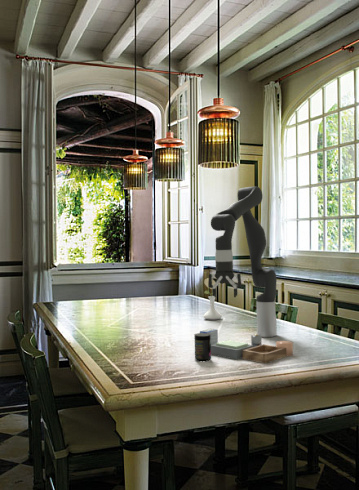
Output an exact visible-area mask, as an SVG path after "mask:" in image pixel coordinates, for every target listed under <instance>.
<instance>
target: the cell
mask: <svg viewBox="0 0 359 490" xmlns="http://www.w3.org/2000/svg"><path fill="white" fill-rule="evenodd" d="M250 339H251V342H250V343H251V344H250V345H253V347H256V346H259V345H263V343H262V337H261V335H258V334H257V333H255V334H252V335H250Z"/></svg>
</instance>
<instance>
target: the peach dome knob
mask: <svg viewBox="0 0 359 490" xmlns="http://www.w3.org/2000/svg"><path fill="white" fill-rule="evenodd" d="M275 346H276V347H280V348H286V357H292V356H293V355H294V342H293V341H290V340H278V341H275Z"/></svg>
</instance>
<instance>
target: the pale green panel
mask: <svg viewBox="0 0 359 490" xmlns="http://www.w3.org/2000/svg"><path fill="white" fill-rule="evenodd" d="M248 345H249V344H248V343H247V342H241V341H235V340H229V339H228V340H223V341H218V343H216V346H221V347H227V348H233V349H239V348H242V347H246V346H248Z"/></svg>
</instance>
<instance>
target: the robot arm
mask: <svg viewBox="0 0 359 490" xmlns="http://www.w3.org/2000/svg"><path fill="white" fill-rule="evenodd" d="M262 202H263V191H262V189H261V187H258V186H254V185H253V186H247V187H240V188H239V189H238V191H237V201H235V202H233V203H231V204H230V205H229V206H228V207H226V208H225V209H224V210H222V211H219V212H216V214H214V215H213V216H212V217H211V220H210V226H211V227H210V228H211V229H212V230H214V231H219V232H221V231H223V235H220V236H216V238H215V255H214V257H215V258H214V260H215V273H208V278H209V281H208V287H209V289H210V288H212V289H211V290H212V293H213V294H212V296H214V297H215V299H216V298H217V287H218V285H219V284H221V285H222V284H227V285H228V284H230V285H231V286H232V287H233V298H237V296H238V289H239V288H241V287H242V279H241V278H242V276H241V273H240V272H237V273H234V266H233V265H234V263H233V261H234V259H233V258H234V257H233V250H232V248H233V247H232V246H233V244H232V243H233V236H234V235H233V234H234V231H235V226H236V221H238V220H239V219H240V218H241V217H242V220H243V225H244V231H245V232H244V233H245V236H246V242H247V247H248V252H249V259H250V267H251V278H252V282H253V285H254V286H255V287H256V288H263V289H264V290H263V291H264V292H263V293H261V294H258V295H256V334H258V335H261V338H262V337H263V338H273V337H276V336H277V335H278V333H277V327H278V326H277V316H276V296H277V279H278V278H277V274H276V272H275V270H274V269H268V268H267V269H265V268H264V269H263V266H262V257H263V255H264V251H265V249H266V246H267V239H266V233H265V229H264V227H263V226H262V224H260V222H259V221H258V220H257V218H255V216H254V214H253V213H252V211H251V210H252V209H253V208H255V207H257V206H259V205H260V204H261V203H262ZM214 278H216V281H215V284H214V285H212V280H214ZM234 278H235V279H237V284H236V283H235V281H234V280H233V279H234ZM208 287H207V288H208Z"/></svg>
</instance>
